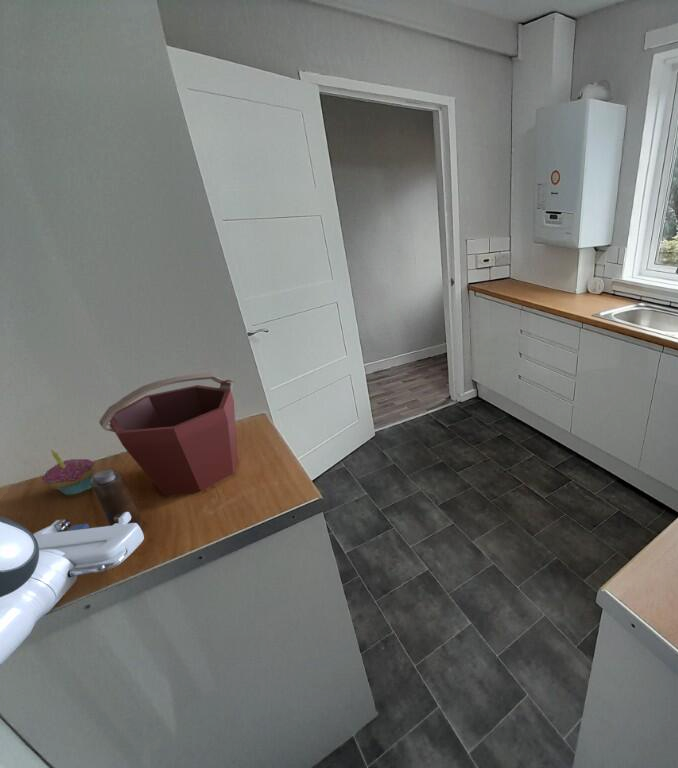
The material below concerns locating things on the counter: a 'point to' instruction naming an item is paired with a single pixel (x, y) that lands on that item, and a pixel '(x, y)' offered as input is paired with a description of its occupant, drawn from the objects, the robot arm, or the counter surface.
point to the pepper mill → (114, 496)
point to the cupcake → (70, 475)
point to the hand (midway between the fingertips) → (95, 518)
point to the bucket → (179, 433)
